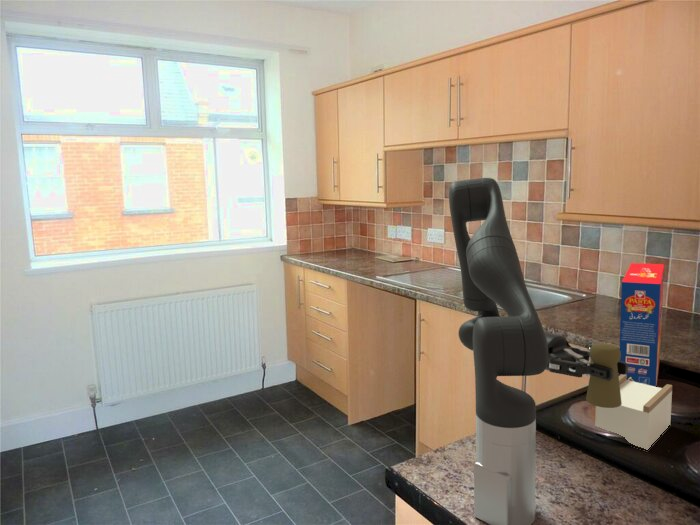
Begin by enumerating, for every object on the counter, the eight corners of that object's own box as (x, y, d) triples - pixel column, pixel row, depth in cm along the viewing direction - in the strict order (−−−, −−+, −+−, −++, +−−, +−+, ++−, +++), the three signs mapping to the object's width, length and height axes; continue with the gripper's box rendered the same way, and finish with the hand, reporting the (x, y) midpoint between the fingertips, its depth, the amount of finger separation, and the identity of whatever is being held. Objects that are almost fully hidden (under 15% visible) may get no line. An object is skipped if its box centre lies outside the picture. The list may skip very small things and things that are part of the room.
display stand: (647, 451, 100) (649, 407, 98) (594, 434, 107) (595, 393, 106) (670, 425, 109) (672, 385, 108) (620, 411, 116) (622, 373, 115)
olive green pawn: (610, 393, 99) (612, 338, 97) (628, 406, 93) (630, 348, 91) (580, 395, 98) (581, 340, 97) (595, 408, 92) (597, 350, 91)
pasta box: (655, 397, 123) (660, 284, 119) (618, 391, 127) (621, 281, 123) (659, 360, 146) (664, 264, 142) (628, 356, 150) (631, 263, 146)
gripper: (516, 338, 102) (597, 360, 88) (561, 325, 110) (641, 344, 95) (516, 373, 103) (595, 401, 89) (560, 358, 111) (640, 382, 96)
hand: (619, 371), depth 92 cm, fingers closed on olive green pawn, 4 cm apart
